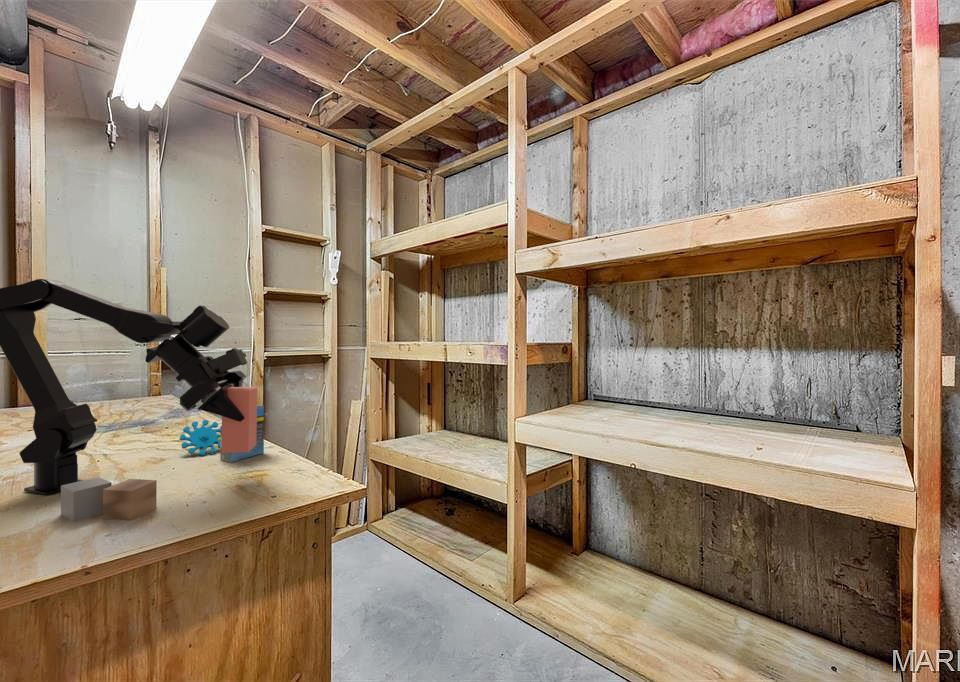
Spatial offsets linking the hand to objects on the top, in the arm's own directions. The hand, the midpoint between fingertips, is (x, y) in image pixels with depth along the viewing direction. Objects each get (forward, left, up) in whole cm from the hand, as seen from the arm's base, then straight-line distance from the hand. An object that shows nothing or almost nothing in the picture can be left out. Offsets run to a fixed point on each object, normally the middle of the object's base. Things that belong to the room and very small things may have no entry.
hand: (247, 417), depth 89 cm
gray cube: (-14, -20, -13) cm, 28 cm away
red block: (-1, -1, -7) cm, 7 cm away
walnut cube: (-7, -18, -13) cm, 24 cm away
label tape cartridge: (-13, +13, -14) cm, 23 cm away
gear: (-24, +13, -14) cm, 31 cm away
